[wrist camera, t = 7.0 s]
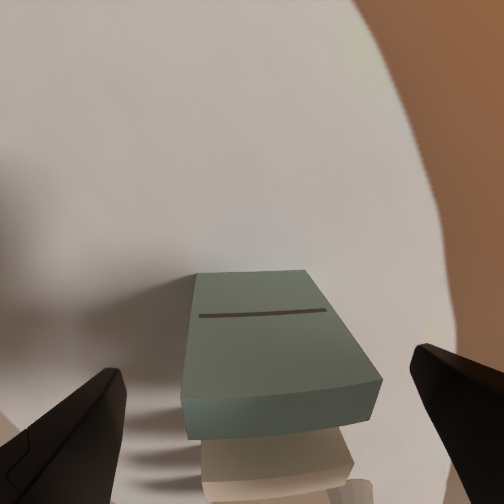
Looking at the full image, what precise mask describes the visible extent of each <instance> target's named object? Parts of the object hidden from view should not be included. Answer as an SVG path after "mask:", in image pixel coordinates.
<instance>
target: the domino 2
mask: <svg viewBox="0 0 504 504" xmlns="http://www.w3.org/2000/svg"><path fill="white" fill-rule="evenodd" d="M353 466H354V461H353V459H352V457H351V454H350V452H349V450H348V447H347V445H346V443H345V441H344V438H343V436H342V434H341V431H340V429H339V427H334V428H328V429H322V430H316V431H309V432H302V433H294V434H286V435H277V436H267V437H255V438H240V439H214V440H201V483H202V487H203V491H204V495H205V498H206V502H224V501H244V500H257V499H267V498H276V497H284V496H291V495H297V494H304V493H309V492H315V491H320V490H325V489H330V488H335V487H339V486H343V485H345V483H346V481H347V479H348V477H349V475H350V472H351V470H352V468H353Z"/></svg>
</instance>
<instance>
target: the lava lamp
mask: <svg viewBox="0 0 504 504" xmlns="http://www.w3.org/2000/svg"><path fill="white" fill-rule="evenodd" d="M326 491H327V494H328V497H329V500H330V503H331V504H373V486H372V484H371V482H370V481H367V480H363V479H356V480H347V481H346V483H345V485H343V486H339V487H335V488H330V489H326Z"/></svg>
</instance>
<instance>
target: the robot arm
mask: <svg viewBox="0 0 504 504" xmlns="http://www.w3.org/2000/svg"><path fill="white" fill-rule="evenodd" d="M410 373H411V376H412V378H413V380H414V383H415V385H416V388H417V390H418V392H419V395H420V397H421V400H422V402H423V405H424V407H425V409H426V411H427V413H428V415H429V417H430V419H431V421H432V423H433V425H434V427H435V428H436V430H437V432H438V434H439V436H440V438H441V440H442V442H443V444H444V446H445V448H446V450H447V452H448V454H449V457H450V459H451V461H452V463H453V465H454V467H455V469H456V471H457V473H458V475H459V478H460V480H461V482H462V484H463V486H464V489H465V491H466V493H467V495H468V498H469V500H470V502H471V504H504V373H503V372H500V371H498V370H495V369H493V368H490V367H487V366H484V365H482V364H480V363H477V362H475V361H472V360H469V359H467V358H464V357H462V356H459V355H457V354H454V353H451V352H449V351H446V350H444V349H441V348H439V347H436V346H434V345H431V344H428V343H425V344H421V345H418V346H416V348H415V350H414V353H413V357H412V360H411V363H410ZM126 399H127V392H126V387H125V384H124V381H123V377H122V374H121V371H120V370H119V369H118V368H105V369H103V370H102V371H101V372H99V373H98V374H97V375H95V376H94V377H93V378H92V379H90V380H89V381H88V382H86V383H85V384H84V385H82V386H81V387H80V388H78V389H77V390H76V391H74V392H73V393H72V394H71V395H69V396H68V397H67V398H65V399H64V400H63V401H61V402H60V403H59V404H57V405H56V406H55V407H54V408H52V409H51V410H50V411H48V412H47V413H46V414H44V415H43V416H42V417H40V418H39V419H38V420H36V421H35V422H34V423H33V424H31V425H30V426H29V427H28V428H27V429H25V430H23V431H22V432H21V433H19V434H18V435H17V436H15V437H14V438H13V439H11V440H10V441H8V442H7V443H6V444H4V445H2V446H1V447H0V504H110V499H111V493H112V488H113V482H114V477H115V472H116V467H117V462H118V457H119V453H120V448H121V443H122V436H123V426H124V416H125V407H126Z"/></svg>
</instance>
